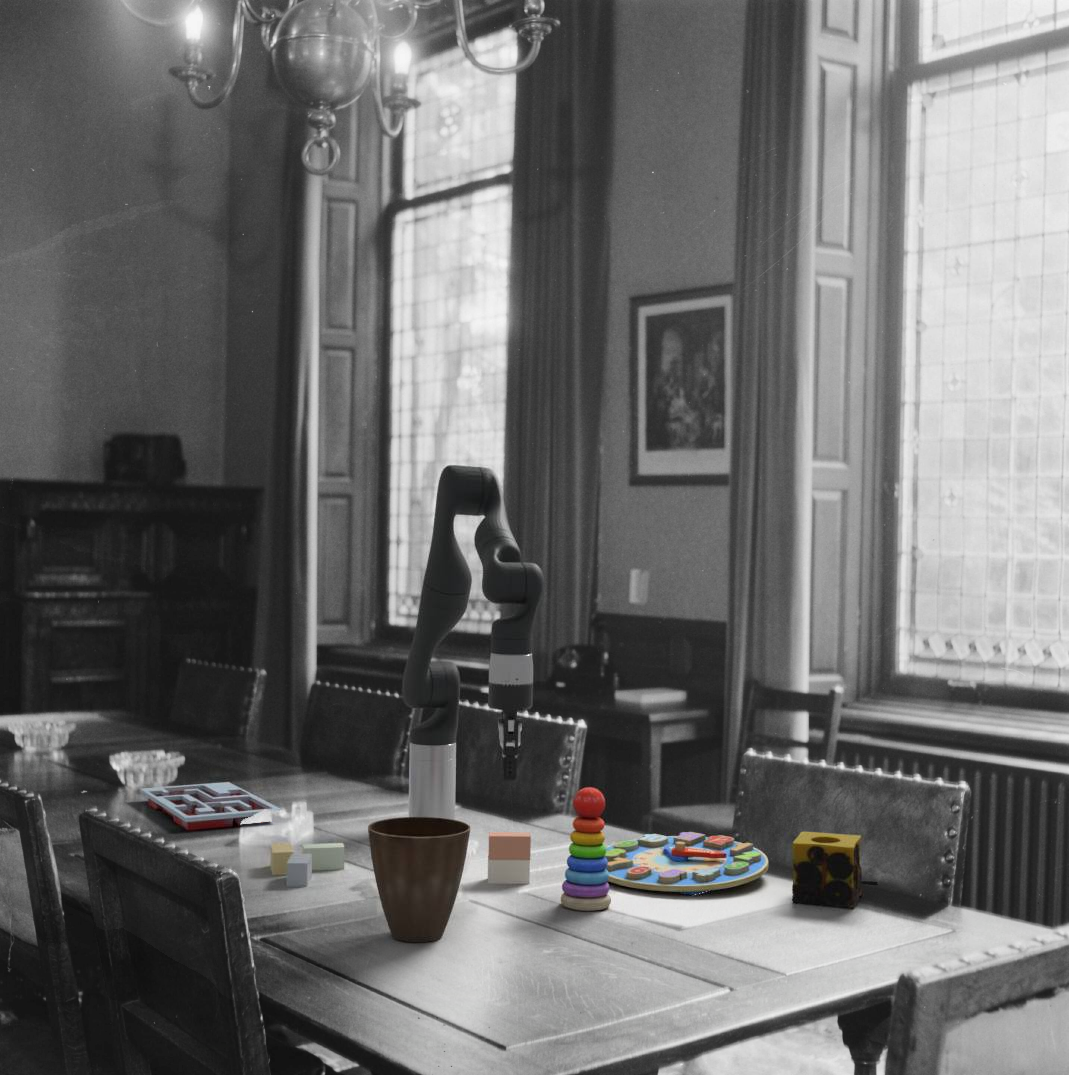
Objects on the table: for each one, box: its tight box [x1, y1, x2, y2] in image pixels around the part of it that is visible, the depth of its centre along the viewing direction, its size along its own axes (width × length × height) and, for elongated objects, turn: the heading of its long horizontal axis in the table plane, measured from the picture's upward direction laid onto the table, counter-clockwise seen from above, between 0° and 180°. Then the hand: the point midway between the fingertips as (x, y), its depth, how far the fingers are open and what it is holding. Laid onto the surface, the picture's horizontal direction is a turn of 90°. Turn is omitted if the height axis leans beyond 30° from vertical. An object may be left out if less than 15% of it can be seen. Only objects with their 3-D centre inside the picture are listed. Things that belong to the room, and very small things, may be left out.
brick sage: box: [302, 842, 346, 871], centre depth 248 cm, size 3×7×4 cm, turn 102°
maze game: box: [139, 781, 283, 831], centre depth 295 cm, size 35×20×3 cm, turn 30°
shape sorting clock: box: [604, 831, 769, 896], centre depth 246 cm, size 31×30×6 cm
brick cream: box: [487, 855, 531, 885], centre depth 240 cm, size 3×7×4 cm, turn 93°
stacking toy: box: [560, 786, 612, 912], centre depth 225 cm, size 8×8×19 cm
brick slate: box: [286, 853, 313, 888], centre depth 238 cm, size 3×7×4 cm, turn 3°
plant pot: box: [367, 816, 471, 943], centre depth 206 cm, size 15×15×16 cm
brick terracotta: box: [488, 831, 532, 861], centre depth 240 cm, size 3×7×4 cm, turn 93°
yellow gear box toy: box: [791, 831, 863, 909], centre depth 231 cm, size 10×10×10 cm
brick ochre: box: [269, 842, 294, 876], centre depth 245 cm, size 3×7×4 cm, turn 13°
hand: (508, 775), depth 240 cm, fingers open, 8 cm apart
